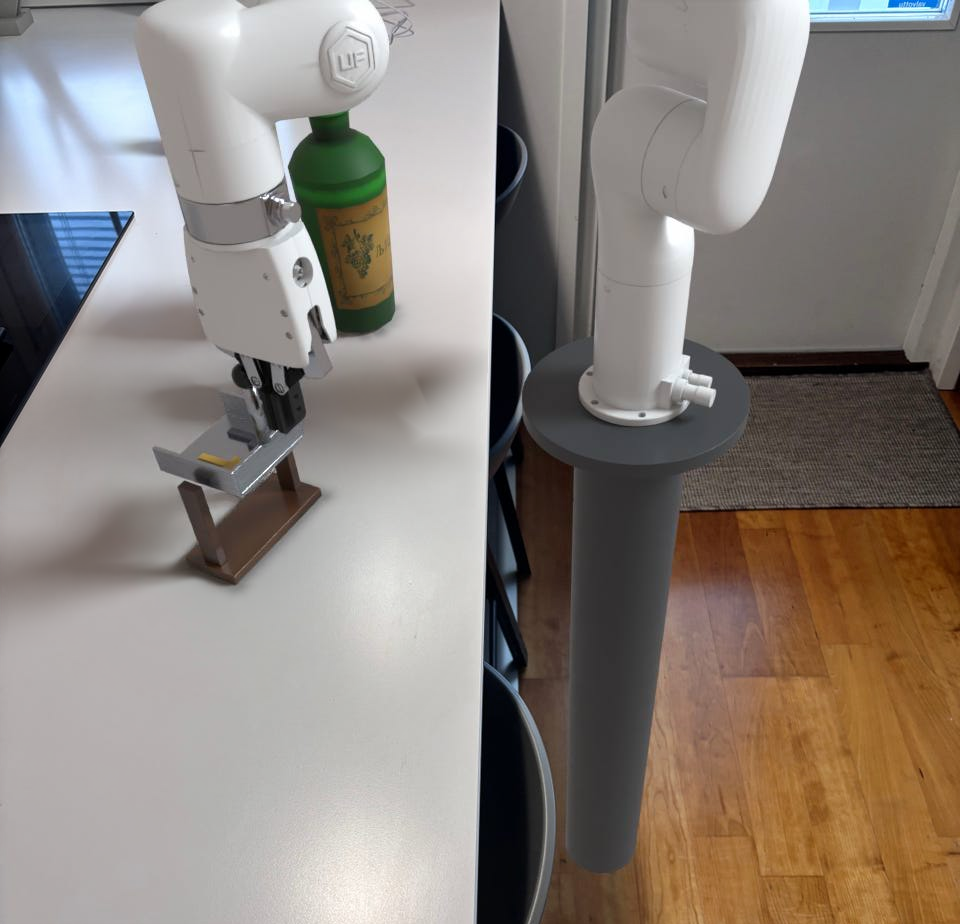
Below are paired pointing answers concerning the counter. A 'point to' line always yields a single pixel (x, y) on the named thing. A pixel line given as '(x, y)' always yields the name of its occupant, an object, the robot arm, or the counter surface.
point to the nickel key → (244, 436)
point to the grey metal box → (233, 444)
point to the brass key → (220, 461)
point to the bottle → (347, 219)
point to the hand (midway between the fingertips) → (288, 422)
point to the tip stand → (247, 522)
